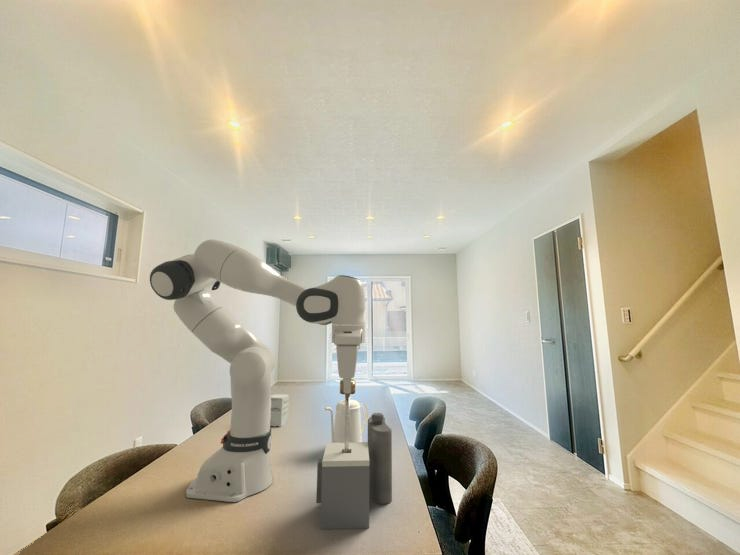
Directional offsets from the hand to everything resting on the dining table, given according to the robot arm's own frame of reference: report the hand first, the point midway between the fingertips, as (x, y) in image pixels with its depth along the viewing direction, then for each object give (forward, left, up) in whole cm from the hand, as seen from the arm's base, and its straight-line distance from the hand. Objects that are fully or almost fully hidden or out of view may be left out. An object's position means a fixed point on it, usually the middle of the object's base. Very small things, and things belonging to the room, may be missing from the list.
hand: (347, 390), depth 78 cm
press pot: (0, 0, -29) cm, 29 cm away
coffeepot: (-1, +38, -29) cm, 48 cm away
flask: (+9, +11, -29) cm, 32 cm away
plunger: (0, 0, -22) cm, 22 cm away
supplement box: (-34, +68, -29) cm, 81 cm away
